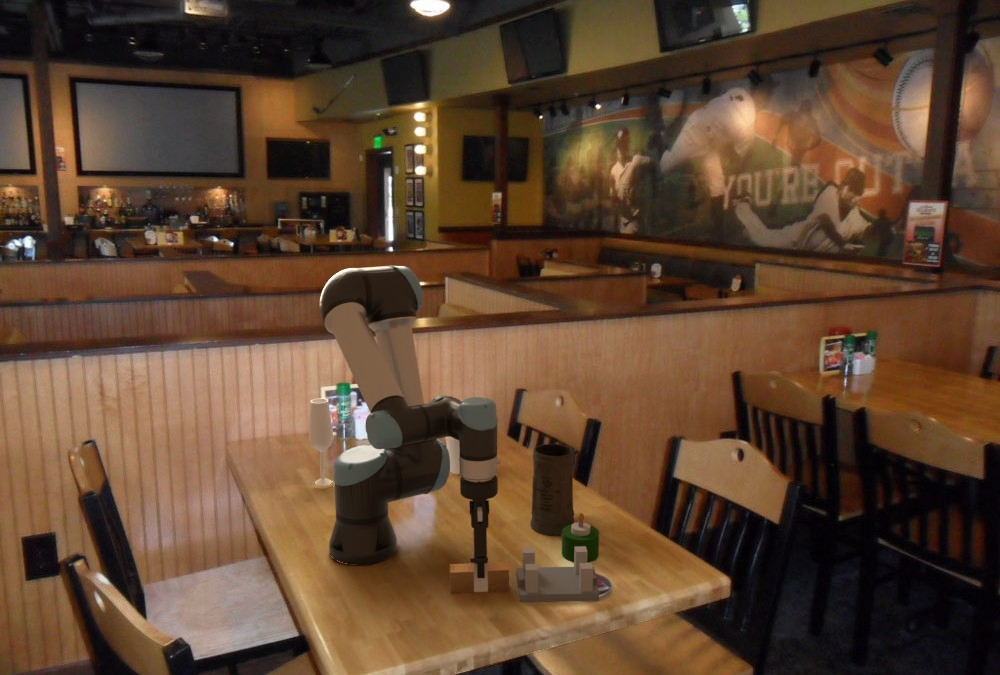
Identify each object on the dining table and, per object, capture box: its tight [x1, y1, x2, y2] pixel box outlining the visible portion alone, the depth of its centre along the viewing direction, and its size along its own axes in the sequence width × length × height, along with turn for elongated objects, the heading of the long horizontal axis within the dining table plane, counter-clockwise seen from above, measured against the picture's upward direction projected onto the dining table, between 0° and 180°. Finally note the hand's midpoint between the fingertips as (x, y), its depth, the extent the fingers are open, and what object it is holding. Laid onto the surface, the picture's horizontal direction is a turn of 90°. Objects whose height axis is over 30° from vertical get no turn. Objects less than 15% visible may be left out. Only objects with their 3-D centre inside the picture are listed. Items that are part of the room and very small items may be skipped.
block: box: [449, 561, 510, 595], centre depth 159 cm, size 12×4×5 cm, turn 96°
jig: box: [515, 546, 600, 603], centre depth 159 cm, size 16×11×6 cm
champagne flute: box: [308, 397, 335, 486], centre depth 211 cm, size 7×7×24 cm
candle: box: [561, 512, 600, 563], centre depth 173 cm, size 8×8×10 cm
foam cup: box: [444, 437, 460, 475], centre depth 222 cm, size 10×9×13 cm
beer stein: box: [530, 443, 576, 536], centre depth 188 cm, size 15×11×20 cm
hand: (480, 574), depth 158 cm, fingers open, 13 cm apart
